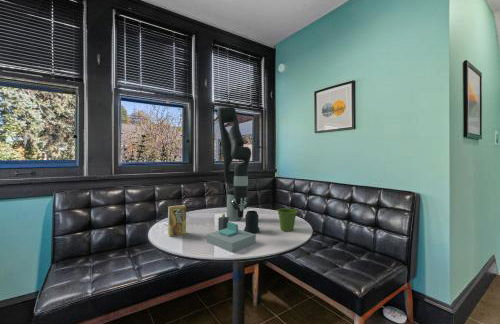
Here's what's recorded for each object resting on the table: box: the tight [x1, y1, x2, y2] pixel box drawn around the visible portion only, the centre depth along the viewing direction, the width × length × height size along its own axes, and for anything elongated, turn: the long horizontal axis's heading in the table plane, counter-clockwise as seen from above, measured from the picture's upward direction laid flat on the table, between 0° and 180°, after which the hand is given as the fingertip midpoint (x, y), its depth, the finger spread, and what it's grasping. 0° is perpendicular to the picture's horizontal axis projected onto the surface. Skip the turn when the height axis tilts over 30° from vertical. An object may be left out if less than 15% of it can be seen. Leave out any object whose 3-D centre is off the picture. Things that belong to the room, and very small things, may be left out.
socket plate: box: [206, 228, 257, 253], centre depth 111 cm, size 16×18×4 cm
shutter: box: [219, 221, 239, 236], centre depth 113 cm, size 7×7×4 cm
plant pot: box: [276, 208, 298, 232], centre depth 132 cm, size 12×12×11 cm
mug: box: [243, 210, 261, 234], centre depth 130 cm, size 12×9×11 cm
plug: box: [217, 213, 229, 231], centre depth 127 cm, size 4×4×10 cm
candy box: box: [167, 204, 187, 237], centre depth 123 cm, size 9×4×15 cm, turn 119°
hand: (240, 217), depth 119 cm, fingers closed
